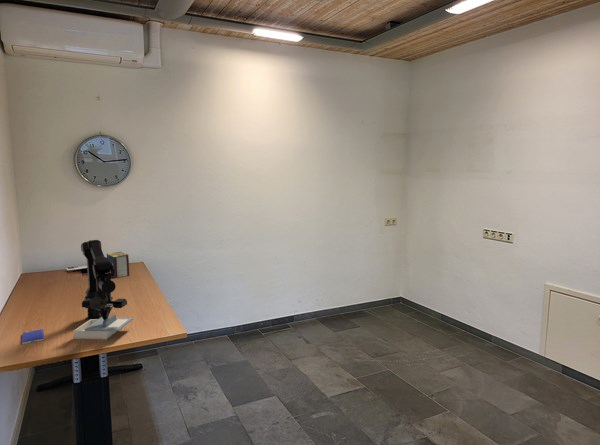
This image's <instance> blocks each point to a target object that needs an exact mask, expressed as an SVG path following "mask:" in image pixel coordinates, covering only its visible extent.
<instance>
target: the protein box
mask: <svg viewBox="0 0 600 445" xmlns="http://www.w3.org/2000/svg"><path fill="white" fill-rule="evenodd" d="M129 257H130V256H129V254H127V253H125V252H122V251H115V252H108V253H106V258H108V259H109V261H110V263H112V265H113V267H114V271H115V274H114V276H112V277H111V278H114V279H119V278H123V277H124V278H125V277H130V275H131V274H130V260H129ZM110 273H111V271H110Z"/></svg>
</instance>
